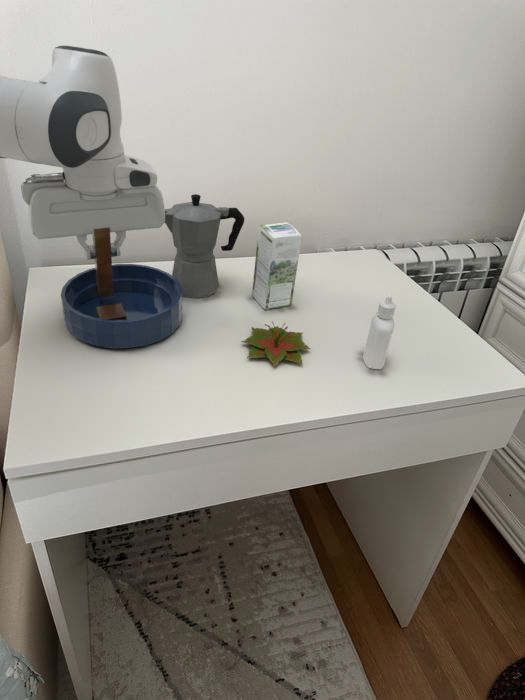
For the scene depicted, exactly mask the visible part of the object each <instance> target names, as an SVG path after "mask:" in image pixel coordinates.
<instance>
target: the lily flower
mask: <svg viewBox="0 0 525 700" xmlns="http://www.w3.org/2000/svg"><path fill="white" fill-rule="evenodd" d="M271 323H272V324H271V325H273V327H271V326H270V325H269V324H266V323H264V326H266V327H268V328H269V329H266V328H261V327H252V326H251V334H252V335H251V336H248V337H247V338H245V340H242V341H240V343H244V344H248V345H252V347H251V348H250V349H249V351H248V355H247V357H246V359H253V358H256V359H257V358H268V359H269V361H270V363H272V364H273V367H274V368H276V366H277V365H278V364H279V363H280V362H281V361H282V360H286V361H289V362H294V363H298V364H301V365H304V363H303V359H302V354H301V353H300V351H299V350H311V348H310V346H308V345H307V344H305V342H304V341H303V340H301V339H302V337H303V334H304V332H298V331H297V332H295V331H287V329H288V328H289V326H285V325H286V322H284V323H283V325H282V326H281V327H279V325H276V326H275V324H274V322H273V321H272V320H271ZM284 326H285V327H284Z"/></svg>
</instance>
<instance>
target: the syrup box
mask: <svg viewBox="0 0 525 700" xmlns="http://www.w3.org/2000/svg"><path fill="white" fill-rule="evenodd" d="M257 229H258V231H257V239H256V249H255V250H256V251H255V259H254V260H255V261H254V270H253V271H254V272H253V282H252V289H251V290H252V292H251V296H252V297H253V298H254V300H256V302H257V303H258V304H259V305H260V306H261V307H262V308H263V309H264V310H265V311H267V310H274V309H278V308H285V307H290V306H292V304H293V298H294V291H295V286H296V278H297V273H298V272H297V271H298V264H299V260H300V259H299V258H300V254H301V253H300V251H301V247H302V246H301V245H302V239H303V235H302V234H301V233H300V231H298V230H297V229H296V228H295V227H294V226H293V225H292V224H290V223H288V222H287V221H286V222H278V223H269V224H260V225H258V228H257Z"/></svg>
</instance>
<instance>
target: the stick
mask: <svg viewBox="0 0 525 700" xmlns="http://www.w3.org/2000/svg"><path fill="white" fill-rule="evenodd" d="M91 236H92V245H94V248H95V251H96V257H97V258H96V259H94V268H95V269H96V281H97V290H98V294H99V297H100V298H101V297H109V296H114V292H113V274H112V265H113V261H112V260H113V259H112V258H113V257H111V243H112V242H111V241H112V240H111V232H110V228H101V229H94V234H91Z"/></svg>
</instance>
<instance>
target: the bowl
mask: <svg viewBox="0 0 525 700" xmlns="http://www.w3.org/2000/svg"><path fill="white" fill-rule="evenodd" d="M112 274H113V292H114V296H109V297H101V298H100V297H99V294H98V290H97V281H96V269H95V267H92V268H89V269H86V270H83V271H82V272H79V273H77V274H76V275H74V276H73V277H70V279H68V280H67V281H66V283H65V284H64V285H63V286H62V289H61V292H60V299H61V306H62V307H61V308H62V313H63V319H64V323H65V325H66V326H65V327H66V329H67V330H68V332H69V333H70V334H71V335H72V336H73V337H75V338H76V339H78V340H80V341H82V342H83V343H86V344H89V345H92V346H96V347H101V348H108V349H132V348H133V349H134V348H138V347H144V346H148V345H152V344H154V343H157V342H159V341H162V340H163V339H165V338H167V337H169V336H170V335H172V334H173V333H174V332H175V331H176V330H177V329H178V328H179V327H180V325H181V322H182V320H183V296H182V288H181V285H180V284H179V282H178V281H177V279H176V278H174V277H173V276H172V274H170V273H169V272H166V271H165V270H162V269H160V268H158V267H153V266H149V265H145V264H137V263H114V264H113V263H112ZM113 304H122V306H123V309H124V311H125V314H126V318H127V320H108V319H99V318H97V311H96V307H98V306H106V305H113Z"/></svg>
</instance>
